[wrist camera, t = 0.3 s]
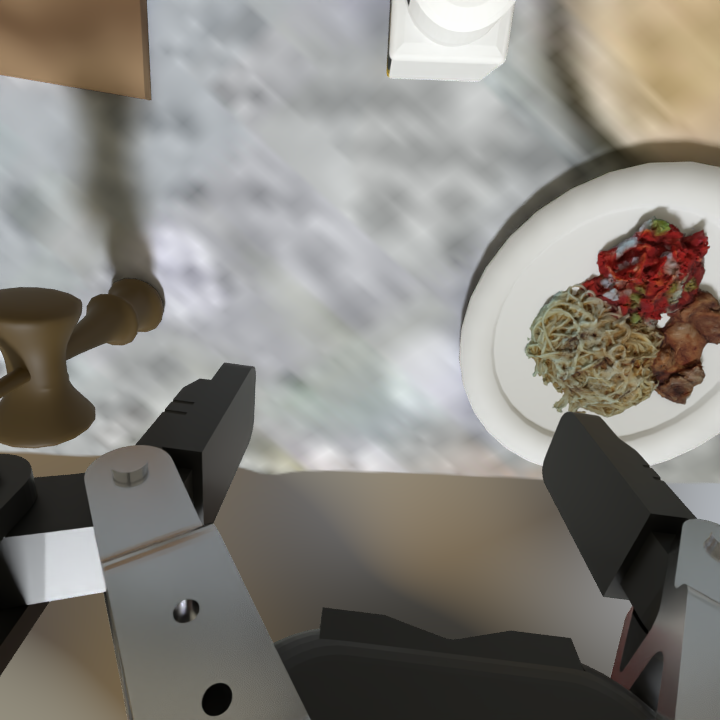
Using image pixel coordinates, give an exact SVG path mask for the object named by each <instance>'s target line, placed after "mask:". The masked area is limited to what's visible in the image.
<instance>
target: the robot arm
mask: <svg viewBox="0 0 720 720" xmlns="http://www.w3.org/2000/svg"><path fill="white" fill-rule="evenodd" d="M255 382H256V371H255V367H253V366H246V365H238V364H231V363H224V364H223V365H222V366H221V367H220V369H219V370H218V372H217V373H216V374H215V376H214V377H213V378H212V380H207V379H198V380H197V381H195V382H193V383H191V384H189V385H187V386H185V387H183V388H182V390H181V391H180V392H179V393H178V394H177V396H176V397H175V398H174V399H173V402H171V403H170V404H169V405H168V406H167V408H166V409H165V412H162V414H161V415H160V416H159V417H158V418H157V420H156V421H155V422H154V423H153V424H152V426H151V427H150V428H149V429H148V430H147V432H146V433H145V434H144V435H143V436H142V438H141V439H140V440H139V441H138V442H137V444H136V445H135V446H127V447H122V448H119V449H115V450H113V451H110V452H108V453H106V454H104V455H102V456H101V457H99V458H98V459H96V460H95V461H94V462H93V463H92V464H91V465H90V466H89V467H88V469H87V471H86V473H80V474H71V475H60V476H49V477H37V478H34V477H33V473H32V468H31V465H30V463H29V462H28V461H27V460H26V459H24V458H22V457H19V456H16V455H10V454H0V675H1V674H2V672H3V671H4V669H5V668H6V666H7V665H8V663H9V662H10V660H11V659H12V657H13V656H14V654H15V653H16V651H17V650H18V648H19V647H20V645H21V644H22V642H23V641H24V639H25V638H26V636H27V635H28V633H29V632H30V630H31V628H32V627H33V626H34V624H35V623H36V621H37V620H38V618H39V617H40V615H41V614H42V612H43V611H44V609H45V608H46V606H47V605H48V603H49V601H53V600H59V599H65V598H71V597H77V596H83V595H88V594H94V593H100V592H103V593H104V598H105V603H106V608H107V613H108V618H109V624H110V629H111V633H112V639H113V644H114V649H115V654H116V659H117V665H118V670H119V675H120V679H121V685H122V691H123V696H124V702H125V707H126V713H127V718H128V720H720V525H719V524H717V523H714V522H711V521H707V520H702V519H697V518H696V517H695V516H694V515H693V514H692V512H691V511H690V510H689V509H688V508H687V507H686V506H685V505H684V503H682V501H681V500H680V499H679V498H678V497H677V496H676V494H675V493H674V492H673V491H672V490H671V489H670V488H669V487H668V485H667V484H666V483H665V482H664V481H661V480H660V476H659V475H658V474H657V473H656V472H655V471H654V470H653V469H652V468H650V467H649V466H650V465H649V464H648V463H647V462H646V461H645V460H644V458H643V457H642V456H641V455H640V454H639V453H638V452H637V451H636V450H635V449H633V448H632V447H631V446H629V445H628V444H626V443H625V442H624V441H622V440H621V439H619V438H618V436H617V435H616V434H615V433H614V432H613V431H612V430H611V428H610V427H609V426H608V425H607V424H606V423H605V421H604V420H603V419H602V418H601V417H600V416H597V415H591V414H584V413H577V412H570V411H569V412H566V413H564V414H563V415H562V417H561V419H560V421H559V423H558V426H557V428H556V431H555V433H554V436H553V438H552V441H551V443H550V446H549V448H548V451H547V453H546V456H545V458H544V461H543V468H542V474H543V480H544V483H545V485H546V487H547V489H548V491H549V493H550V495H551V497H552V499H553V501H554V503H555V505H556V506H557V508H558V510H559V512H560V514H561V516H562V518H563V520H564V522H565V524H566V526H567V528H568V530H569V532H570V534H571V535H572V537H573V539H574V541H575V543H576V545H577V547H578V549H579V551H580V553H581V555H582V557H583V558H584V561H585V562H586V564H587V566H588V568H589V570H590V572H591V574H592V576H593V578H594V580H595V582H596V583H597V586H598V588H599V589H600V592H601V593H602V595H603V597H610V598H618V599H626V600H630V602H631V604H632V607H631V608H630V610H629V612H628V613H627V615H626V617H625V620H624V625H623V629H622V633H621V637H620V641H619V645H618V649H617V653H616V657H615V661H614V665H613V669H612V673H611V677H610V678H609V677H607V676H606V675H604V674H602V673H600V672H598V671H597V670H595V669H593V668H590V667H589V666H587V665H584V664H582V663H581V662H580V660H579V657H578V655H577V652H576V650H575V647H574V645H573V642H572V640H571V638H565V637H557V636H549V635H541V634H532V633H524V632H517V631H506V632H500V633H494V634H487V635H481V636H475V637H469V638H463V639H454V640H452V639H446V638H443V637H440V636H438V635H435V634H433V633H430V632H427V631H425V630H422V629H419V628H417V627H414V626H411V625H409V624H406V623H404V622H401V621H399V620H396V619H393V618H391V617H388V616H386V615H379V614H371V613H363V612H355V611H347V610H339V609H331V608H323V610H322V616H321V623H320V629H314V630H308V631H304V632H301V633H298V634H294V635H291V636H288V637H286V638H284V639H282V640H279V641H277V642H275V643H273V642H272V640H271V638H270V636H269V634H268V632H267V630H266V628H265V626H264V624H263V622H262V620H261V617H260V615H259V613H258V611H257V609H256V607H255V605H254V603H253V601H252V599H251V597H250V595H249V593H248V591H247V589H246V587H245V585H244V583H243V581H242V579H241V577H240V575H239V572H238V571H237V568H236V566H235V564H234V562H233V560H232V558H231V556H230V554H229V552H228V550H227V548H226V546H225V544H224V542H223V540H222V538H221V536H220V534H219V532H218V530H217V528H216V527H215V526H214V525H213V523H214V521H215V518H216V516H217V514H218V512H219V509H220V507H221V505H222V503H223V500H224V498H225V496H226V493H227V491H228V489H229V487H230V484H231V482H232V480H233V478H234V475H235V473H236V471H237V469H238V466H239V464H240V462H241V460H242V457H243V455H244V453H245V451H246V448H247V446H248V444H249V441H250V438H251V434H252V430H253V423H254V406H255Z"/></svg>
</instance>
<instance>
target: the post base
mask: <svg viewBox="0 0 720 720" xmlns="http://www.w3.org/2000/svg"><path fill="white" fill-rule="evenodd" d="M0 75H4V76H10V77H16V78H22V79H28V80H34V81H40V82H46V83H52V84H58V85H63V86H69V87H75V88H81V89H87V90H93V91H99V92H105V93H111V94H117V95H123V96H129V97H134V98H140V99H146V100H151V85H150V64H149V42H148V21H147V0H0Z"/></svg>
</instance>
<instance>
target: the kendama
mask: <svg viewBox="0 0 720 720" xmlns="http://www.w3.org/2000/svg"><path fill="white" fill-rule="evenodd" d="M81 313H82V302H81V300H80V299H78V298H76V297H75V296H73V295H71V294H69V293H65V292H62V291H58V290H54V289H46V288H37V287H18V288H8V289H1V290H0V350H1V352H2V355H3V357H4V360H5V364H6V369H7V375H5V376H4V377H2V378H1V379H0V398H2V397H3V398H2V400H1V401H0V443H2V444H5V445H8V446H11V447H21V448H40V447H47V446H55V445H58V444H61V443H63V442H66V441H69V440H71V439H74V438H76V437H77V436H78V435H80V434H81V433H83V432H84V431H86V430H87V429H88V428H89V427H90V426H91V424H92V423H93V421H94V420H95V407H94V405H93V404H92V403H91V402H90V401H89V400H88V399H86V398H85V397H84V396H83V395H82V394H81V393H80V392H78V391H77V390H76V389H75V388H74V387H73V385H72V384H71V382H70V381H69V375H68V373H67V366H66V360H68V359H70V358H72V357H74V356H76V355H78V354H81V353H83V352H85V351H87V350H90V349H92V348H94V347H97V346H99V345H102V344H105V343H108V344H111V345H125V344H127V343H130V342H132V341H133V339H134V338H135V336H136V335H137V332H148V331H150V330H153V329H155V328H156V327H157V326H158V325H159V323H160V322H161V320H162V316H163V305H162V299H161V298H160V296H159V294H158V292H157V291H156V289H154V288H153V287H152V286H150V285H149V284H148V283H146V282H144V281H141V280H138V279H127V278H124V279H122V280H119V281H117V282H114V283H113V285H112V287H111V288H110V290H109V292H108V294H100V295H97V296H95V297H93V298H91V300H90V302H89V304H88V305H87V313H86V316H85V317H84V318H83V319H82V320H81V321H80V322H79V323H78V324H77V322H78V320H79V318H80V316H81ZM76 324H77V325H76Z"/></svg>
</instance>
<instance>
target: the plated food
mask: <svg viewBox="0 0 720 720" xmlns="http://www.w3.org/2000/svg"><path fill="white" fill-rule="evenodd" d="M459 361H460V367H461V374H462V381H463V386H464V389H465V391H466V394H467V396H468V399H469V401H470V404H471V406H472V409H473V411H474V413H475V414H476V416H477V417H478V418H479V420H480V421H481V423H482V424H483V426H484V427H485V428H486V430H487V431H488V432H489V433H490V434H491V435H492V436H493V437H494V438H495V439H496V440H498V441H499V442H500V443H501V444H502V445H503V446H504V447H505V448H507V449H508V450H510V451H512V452H513V453H515V454H517V455H519V456H520V457H522V458H524V459H525V460H527V461H529V462H532V463H535V464H538V465H541V466H543V461H544V458H545V456H546V453H547V451H548V448H549V446H550V443H551V441H552V438H553V436H554V433H555V431H556V428H557V426H558V423H559V421H560V419H561V417H562V415H563V414H564V413H566V412H569V411H570V412H577V413H584V414H591V415H597V416H600V417H601V418H602V419H603V420H604V421H605V423H606V424H607V425H608V426H609V427H610V428H611V430H612V431H613V432H614V433H615V434H616V435H617V436H618V438H619V439H621V440H622V441H624V442H625V443H626V444H628V445H629V446H631V447H632V448H633V449H635V450H636V451H637V452H638V453H639V454H640V455H641V456H642V457H643V458H644V460H645V461H646V462H647V463H648V464H649V465H650V466H651V465H654V464H658V463H661V462H664V461H668V460H670V459H672V458H674V457H676V456H679V455H681V454H683V453H685V452H688V451H690V450H692V449H694V448H696V447H698V446H700V445H701V444H703V443H704V442H706V441H708V440H709V439H711V438H713V437H714V436H716V435H717V434H719V433H720V167H717V166H712V165H707V164H702V163H696V162H658V163H646V164H642V165H638V166H633V167H629V168H625V169H620V170H616V171H612V172H608V173H606V174H604V175H601V176H599V177H597V178H594V179H592V180H590V181H588V182H585V183H583V184H581V185H578V186H576V187H574V188H571V189H570V190H568V191H567V192H565V193H564V194H562V195H561V196H559V197H558V198H556V199H555V200H553V201H552V202H550V203H549V204H547V205H546V206H544V207H542V208H541V209H539V210H538V211H537V212H536V213H534V214H533V215H532V216H531V217H530V218H529V219H528V220H527V221H526V222H525V223H524V224H523V225H522V226H521V227H519V228H518V229H517V230H516V231H515V232H514V233H513V234H512V235H511V236H510V237H509V238H508V239H507V240H506V242H505V243H504V244H503V246H502V247H501V248H500V249H499V251H498V252H497V253H496V255H495V256H494V257H493V259H492V260H491V261H490V263H489V264H488V265H487V267H486V268H485V270H484V272H483V274H482V276H481V278H480V280H479V282H478V284H477V286H476V288H475V290H474V292H473V294H472V295H471V297H470V300H469V304H468V307H467V311H466V314H465V318H464V321H463V325H462V328H461V340H460V353H459Z"/></svg>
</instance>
